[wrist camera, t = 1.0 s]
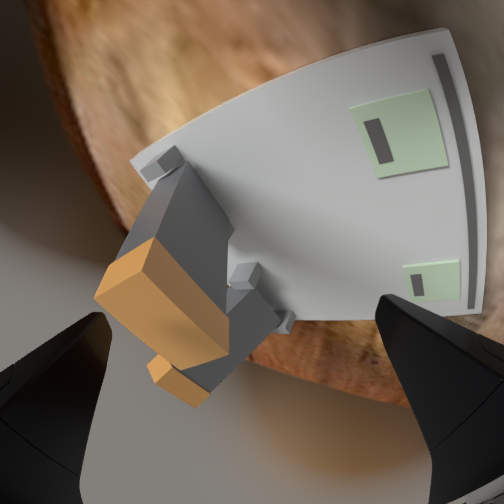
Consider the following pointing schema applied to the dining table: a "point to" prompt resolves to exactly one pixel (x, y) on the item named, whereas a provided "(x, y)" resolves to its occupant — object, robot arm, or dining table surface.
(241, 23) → the dining table surface
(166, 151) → the switch unit
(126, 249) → the rocker
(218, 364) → the block
